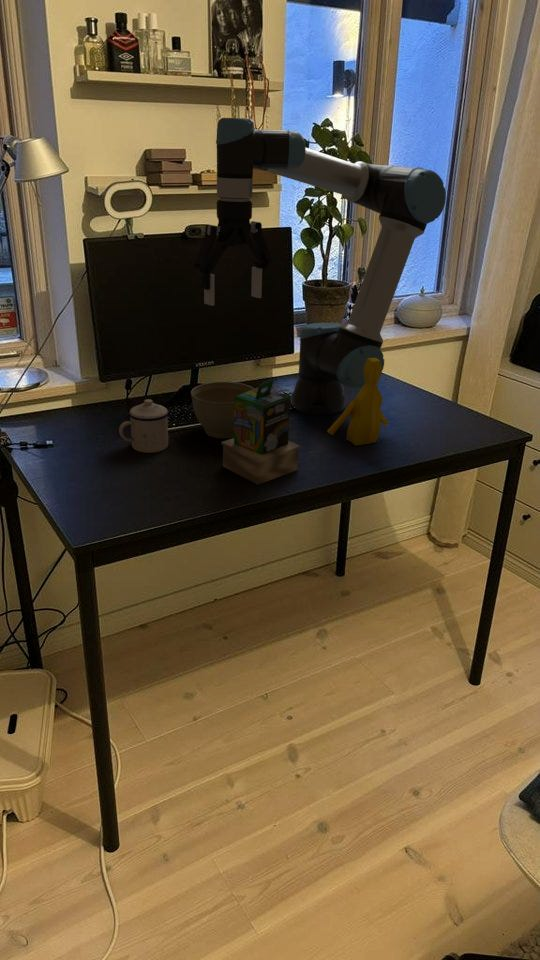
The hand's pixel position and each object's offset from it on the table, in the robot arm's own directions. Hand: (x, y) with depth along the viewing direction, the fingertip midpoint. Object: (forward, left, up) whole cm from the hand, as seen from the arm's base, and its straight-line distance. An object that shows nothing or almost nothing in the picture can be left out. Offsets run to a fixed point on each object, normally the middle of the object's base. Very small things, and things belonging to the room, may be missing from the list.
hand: (233, 300), depth 163 cm
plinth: (+4, +15, -35) cm, 38 cm away
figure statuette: (-26, +19, -35) cm, 47 cm away
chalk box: (+4, +15, -29) cm, 33 cm away
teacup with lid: (+18, -11, -35) cm, 41 cm away
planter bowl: (-3, -7, -35) cm, 36 cm away
